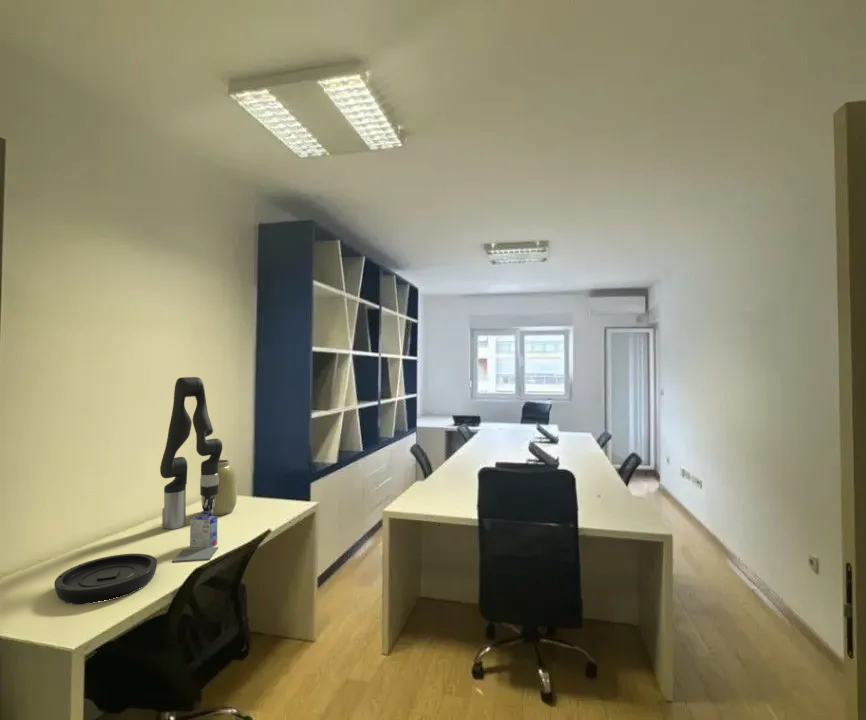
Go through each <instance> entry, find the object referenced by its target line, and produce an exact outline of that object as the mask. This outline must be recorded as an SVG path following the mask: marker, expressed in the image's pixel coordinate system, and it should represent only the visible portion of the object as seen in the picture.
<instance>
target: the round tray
mask: <svg viewBox="0 0 866 720" xmlns="http://www.w3.org/2000/svg"><path fill="white" fill-rule="evenodd" d="M157 566H158V560H157V558H156V557H154V556H153V555H152V554H151V555H150V554H146V553H122V554H115V555H108V556H104V557H100V558H96V559H92V560H89V561H86V562H82V563H80V564H78V565H75V566H73V567H71V568H69V569H67V570H65V571H63V572H62V573H61V574H59V575H58V576H57V577H56V578H55V580H54V583H53V584H54V590H55V594H56V595H57V597H58V599H59V600H60V601H62V602H63V603H66V604H69V603H72V604H71V605H86V604H85V603H93V602H98V601H104V600H109V599H113V598H116V597H120V596H123V595H126V594H128V595H130V594H129V593H131V592H133V591H135V590H137V589H139V588H141V587H142V588H144V587H145V586H147V585H148V584H149V583H150V582H151V581H152V579H153V578H154V576H155V575H156V571H157ZM148 582H149V583H148ZM147 583H148V584H147ZM146 584H147V585H146ZM144 585H145V586H144ZM143 586H144V587H143ZM142 588H141V589H142ZM139 590H140V589H139ZM137 591H138V590H137ZM135 592H136V591H135ZM133 593H134V592H133ZM131 594H132V593H131ZM126 596H127V595H126ZM123 597H124V596H123ZM120 598H121V597H120ZM113 600H114V599H113ZM109 601H110V600H109ZM93 604H94V603H93Z"/></svg>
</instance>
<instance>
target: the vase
mask: <svg viewBox="0 0 866 720" xmlns="http://www.w3.org/2000/svg"><path fill="white" fill-rule="evenodd" d="M218 476H219V493H218V494H216V495H215V497H214V498H216V504H215V510H214V511H213V513H212V514H213V516H217V517H218V516H223V515H224V516H225V515H228V514H230V513H232V512H233V511H234V509H235V507H236V505H237V502H238V500H237V499H238V488H237V487H238V485H237V476H236V472H235V469H234V467H233V466H232V465H231V464H230V460H229V459H219V463H218ZM204 500H205V497H204V496H201V507H202V506H203V505H204Z"/></svg>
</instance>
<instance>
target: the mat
mask: <svg viewBox="0 0 866 720" xmlns="http://www.w3.org/2000/svg"><path fill="white" fill-rule="evenodd" d="M218 549H219V546H213V547H209V548H200V547H192V548H183V549H181V551H180V552H179V553H178V554H176V556H175V557H174V558H173V559H172V560H171V562H172V563H179V562H180V563H182V562H195V561H197V562H198V561H210V560H211V559H212V557H213V556H214V554H215V553H216V552H217V551H218Z"/></svg>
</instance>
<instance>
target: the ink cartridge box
mask: <svg viewBox="0 0 866 720" xmlns="http://www.w3.org/2000/svg"><path fill="white" fill-rule="evenodd" d="M204 513H208V514H207V515H205V514H204ZM209 513H210V511H203V510H202V511H201V514H200V515H196V516H195V517H191V518H190V523H189V524H190V527H189V528H190V529H189V530H190V531H189V547H190V548H209V547H216V545H218V516H209Z"/></svg>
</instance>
